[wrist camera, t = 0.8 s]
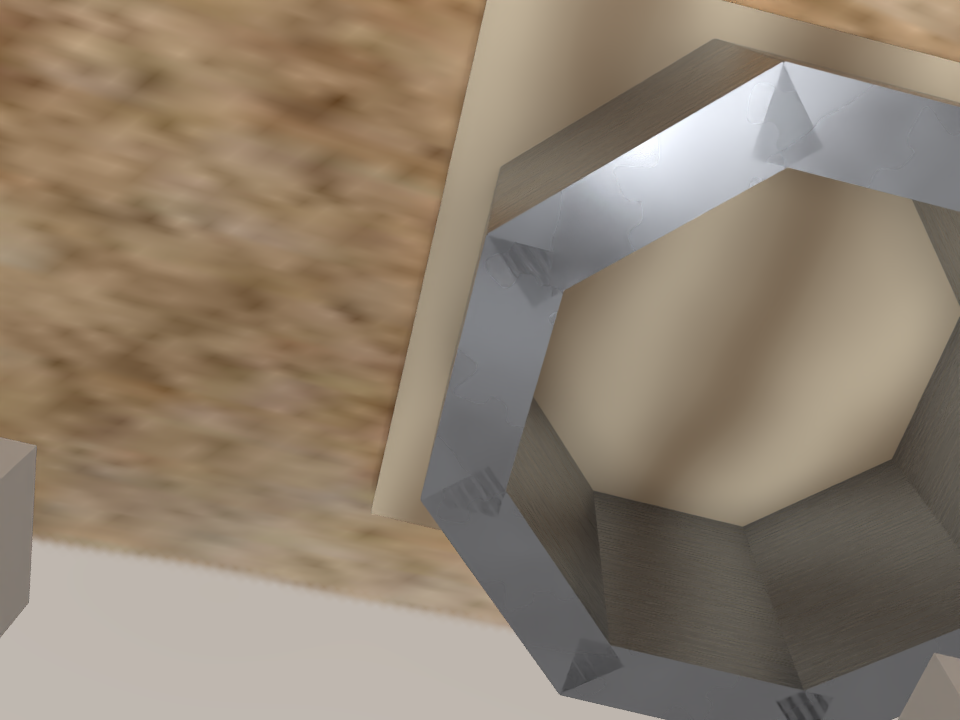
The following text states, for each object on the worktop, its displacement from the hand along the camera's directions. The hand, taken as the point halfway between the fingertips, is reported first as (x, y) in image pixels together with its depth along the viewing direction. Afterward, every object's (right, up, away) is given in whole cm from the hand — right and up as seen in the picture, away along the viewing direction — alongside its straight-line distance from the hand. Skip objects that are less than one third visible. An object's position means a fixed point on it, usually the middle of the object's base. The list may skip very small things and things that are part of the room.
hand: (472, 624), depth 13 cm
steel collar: (+8, +5, +16) cm, 18 cm away
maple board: (+8, +5, +17) cm, 20 cm away
